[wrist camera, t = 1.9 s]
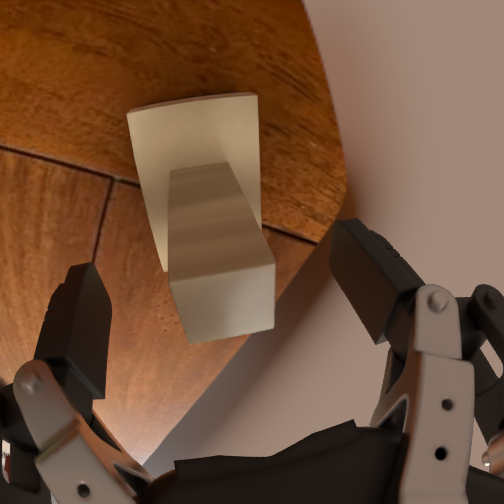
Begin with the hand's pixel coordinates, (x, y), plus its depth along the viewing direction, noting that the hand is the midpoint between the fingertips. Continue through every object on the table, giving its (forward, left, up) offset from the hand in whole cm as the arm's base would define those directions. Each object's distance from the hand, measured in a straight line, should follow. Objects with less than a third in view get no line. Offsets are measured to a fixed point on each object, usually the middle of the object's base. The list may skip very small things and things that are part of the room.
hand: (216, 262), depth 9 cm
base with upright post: (0, 0, -8) cm, 8 cm away
